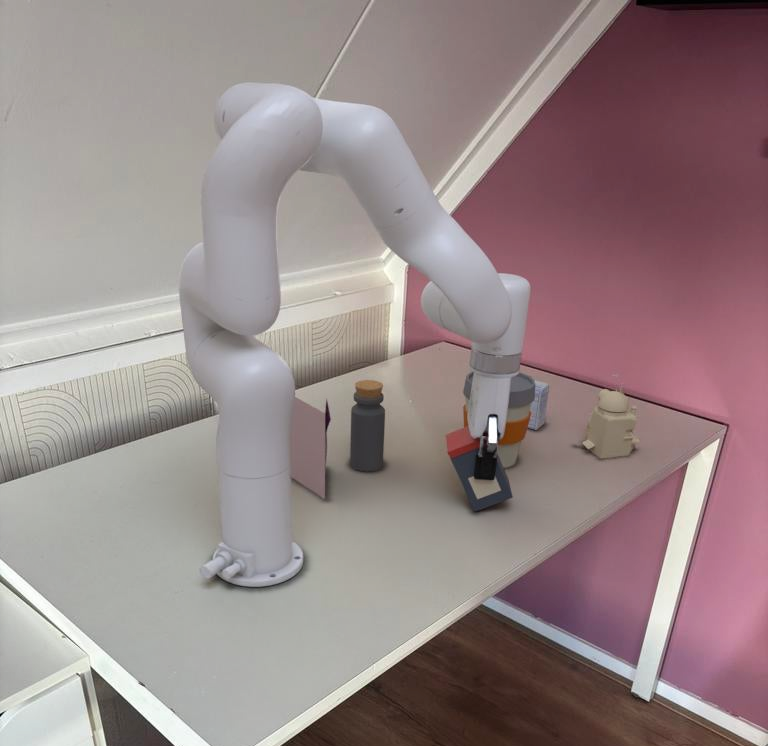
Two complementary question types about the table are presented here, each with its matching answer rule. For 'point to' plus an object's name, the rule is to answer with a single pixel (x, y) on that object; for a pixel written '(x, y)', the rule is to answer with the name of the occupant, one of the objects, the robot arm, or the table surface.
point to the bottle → (367, 427)
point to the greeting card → (309, 446)
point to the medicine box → (539, 405)
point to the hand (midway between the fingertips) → (481, 468)
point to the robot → (611, 426)
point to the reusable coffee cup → (510, 415)
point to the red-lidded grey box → (463, 459)
